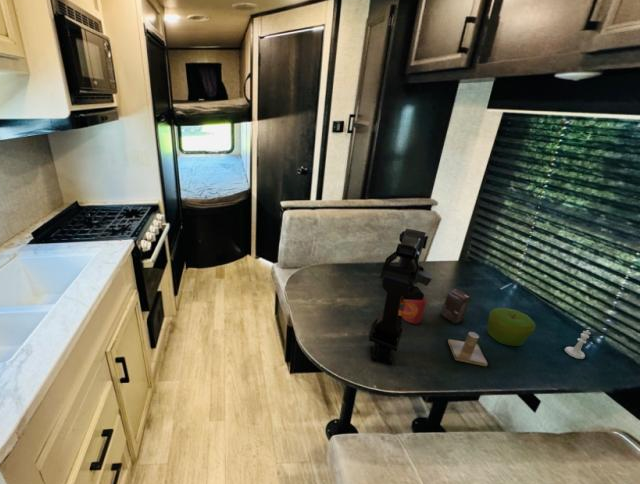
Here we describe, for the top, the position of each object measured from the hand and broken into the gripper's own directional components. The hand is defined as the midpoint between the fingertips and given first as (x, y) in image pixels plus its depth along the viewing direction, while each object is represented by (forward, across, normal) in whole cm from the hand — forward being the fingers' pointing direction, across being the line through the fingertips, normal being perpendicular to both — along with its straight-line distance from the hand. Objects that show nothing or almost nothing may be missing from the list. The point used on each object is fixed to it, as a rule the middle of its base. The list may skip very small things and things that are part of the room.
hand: (398, 301), depth 114 cm
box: (+12, +6, -25) cm, 28 cm away
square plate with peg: (+12, -12, -20) cm, 27 cm away
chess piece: (+12, -10, -57) cm, 59 cm away
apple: (+12, -4, -38) cm, 40 cm away
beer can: (+12, +5, -9) cm, 16 cm away
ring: (+1, -4, 0) cm, 4 cm away
